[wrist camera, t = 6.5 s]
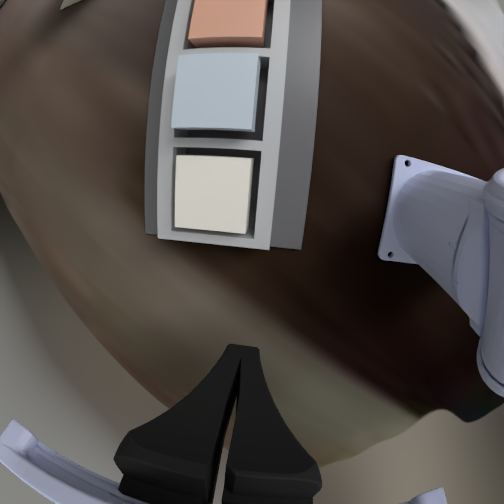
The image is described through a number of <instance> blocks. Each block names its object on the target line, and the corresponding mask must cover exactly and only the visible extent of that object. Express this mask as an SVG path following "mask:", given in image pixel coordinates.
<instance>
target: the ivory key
mask: <svg viewBox="0 0 504 504" xmlns="http://www.w3.org/2000/svg"><path fill="white" fill-rule="evenodd" d="M253 164H254V158H244V157H229V156H209V155H176V177H175V227H180V228H190V229H201V230H212V231H222V232H232V233H242V234H245V233H246V231H247V228H248V226H249V213H250V201H251V188H252V176H253Z"/></svg>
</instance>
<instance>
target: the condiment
mask: <svg viewBox="0 0 504 504" xmlns="http://www.w3.org/2000/svg"><path fill="white" fill-rule="evenodd" d="M79 1H81V0H64V1H63V3H62V5H61V8H60V10H61V9H63V8H65V7H67V6H70V5H72V4H74V3H76V2H79Z"/></svg>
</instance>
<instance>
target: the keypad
mask: <svg viewBox="0 0 504 504" xmlns="http://www.w3.org/2000/svg"><path fill="white" fill-rule="evenodd" d="M194 3H195V0H166V1H165V5H164V10H163V14H162V19H161V24H160V29H159V34H158V39H157V45H156V51H155V57H154V64H153V71H152V78H151V87H150V96H149V106H148V117H147V131H146V150H145V233H146V234H156V235H158V238H160V239H170V240H179V241H189V242H198V243H208V244H217V245H227V246H236V247H246V248H255V249H264V250H269V247H270V246H272V247H281V248H291V249H300V250H301V246H302V239H303V232H304V225H305V217H306V210H307V202H308V194H309V185H310V177H311V168H312V158H313V149H314V138H315V127H316V115H317V103H318V88H319V72H320V52H321V22H322V0H268V5H267V15H266V26H265V37H264V48H263V47H261V48H248V47H218V48H204V47H203V48H196V47H195V46H194V45H193V44H192V43H191V41H190V40H189V39H188V36H189V30H190V24H191V19H192V13H193V8H194ZM207 53H256V54H259V59H260V63H261V64H260V75H259V86H258V98H257V109H256V121H255V132H247V131H228V130H181V129H175V128H171V122H172V110H173V99H174V89H175V80H176V72H177V64H178V57H179V55H190V54H207ZM176 155H209V156H229V157H244V158H254V164H253V176H252V188H251V201H250V213H249V226H248V228H247V231H246V233H245V234H242V233H232V232H222V231H212V230H201V229H190V228H180V227H175V177H176Z"/></svg>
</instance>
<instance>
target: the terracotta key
mask: <svg viewBox="0 0 504 504" xmlns="http://www.w3.org/2000/svg"><path fill="white" fill-rule="evenodd" d="M267 5H268V0H195V3H194V8H193V13H192V19H191V24H190V30H189V36H188V39H189V40H190V41H191V43H192V44H193V45H194V46H195V47H196V48H203V47H204V48H218V47H248V48H261V47H263V48H264V37H265V26H266V15H267Z"/></svg>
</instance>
